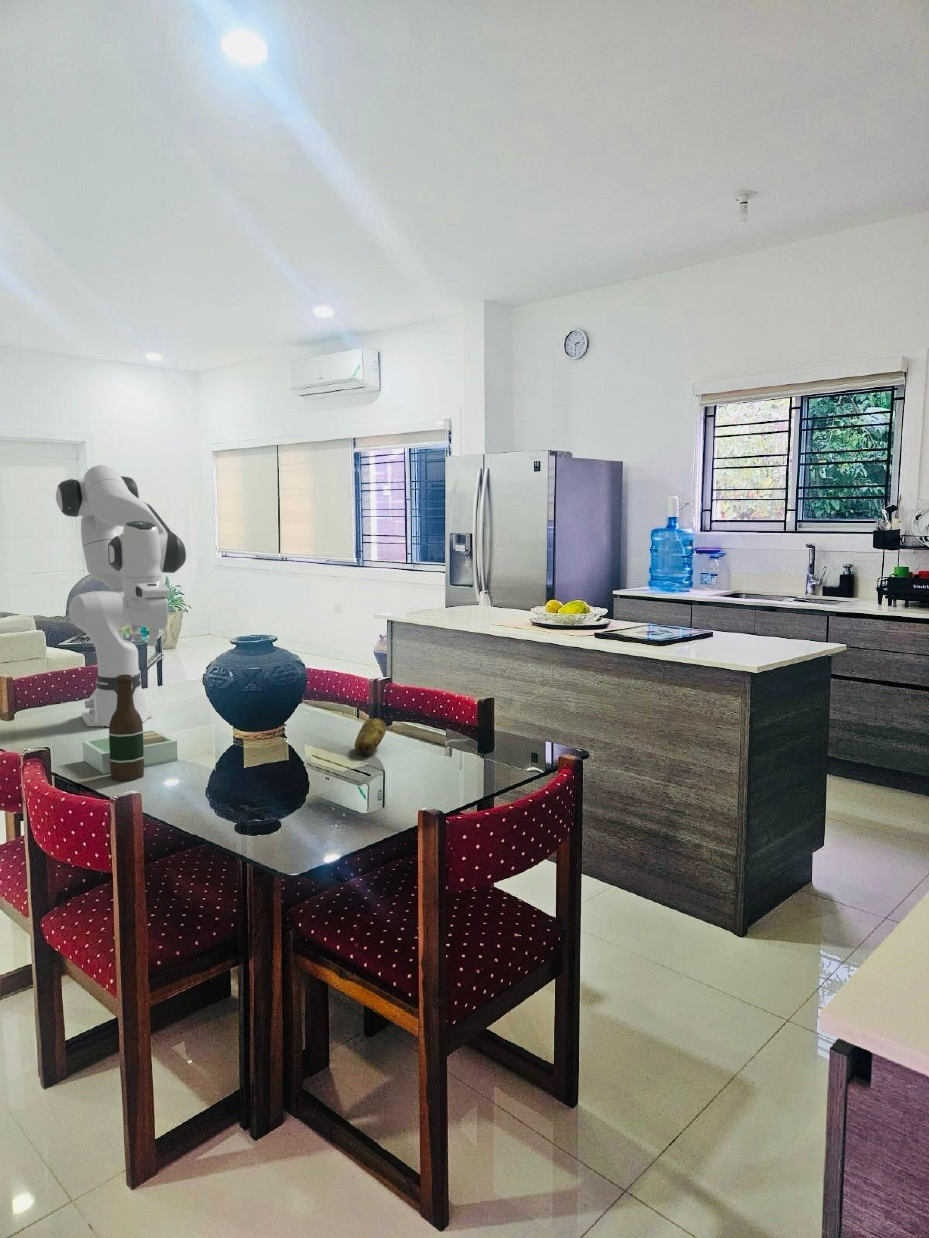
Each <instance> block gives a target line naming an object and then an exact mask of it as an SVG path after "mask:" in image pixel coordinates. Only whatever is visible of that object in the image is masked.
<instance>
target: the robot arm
mask: <svg viewBox="0 0 929 1238" xmlns="http://www.w3.org/2000/svg"><path fill="white" fill-rule="evenodd" d="M56 488H57V489H56V491H55V501H56V504H57V506H58V508H59V510H60V511H61V513H62V514H63V515H64V516H66V517H67V516H68V517H74V518H78V517H81V520H80V537H81V543H82V550H83V554H84V560H85V565H86V569H87V572H88V574H89V575H90V576H91V578H93V579H94V580H96V581H99V582H101V583H102V584H104V585H106V587H108V589H109V590H95V591H93V590H91V591H87V592H83V593H80V594H77V595H75V596H74V597H73V598H72V599H71V601H70V602H69V606H68V614H69V615H68V616H69V619H70V620H71V623H72V624H73V625H75V627H76V628H78V629H79V630H81V631H82V632H84V633H85V634H86V635H87V636H88V637H89V639H90V640H91V642H92V643H93V646H94V649H95V653H96V654H95V655H96V662H97V676H96V679H95V687H96V688H95V690H94V691H93V692H92V694H91V695H90V696H89V699H88V700H85V701H84V707H85V709H89V710H88V711H87V710H86V711H84V712H82V713H81V718H82V720H83V722H84V724H85V723H86V724H85V725H87V727H104V726H106V727H108V728H109V725H110V721H111V718H112V715H113V714H114V712H115V711H116V707H117V681H116V679H117V676H119V675H132V678H133V680H132V681H131V682H132V692H133V702H134V707H135V709H136V711H137V712H138V713H139V714H140V717H141V719H142V723H144V722H146V721H147V720H148V719H151V718H152V717H153V713H152V712H148V702H147V701H148V700H147V691H146V690H144V689H143V688H142V687H141V685H142V677H141V676H142V675H141V672H140V667H139V666H140V664H139V649H138V648H137V646H136V645H135V644H134V643H133V642H132V641H129V639H125V638H123V637H121V636H120V633H119V628H128V627H130V630H131V632H132V639H133V641H134V642H142V641H143V634H142V632H141V627H144V628H146V629H147V630H148V631H147V632H148V633H149V634H148V638H147V645H148V646H149V647H157V646H158V637H159V634H160V630H163V629H166V628H167V627H168V620H169V601H168V599H167V598H169V597H170V589H169V587H168V586H167V585H166V584H165V583H164V581H163V575H162V573H165V574H167V573H168V574H174V573H176V572H178V571H179V569H180V568H181V567H182V566H184V565H185V562H186V558H187V554H186V553H187V552H186V547H185V544H184V542H183V541H182V539H181V538H180V537H179V536H178V535H177V534H175V533H174V532H173V531H172V530H171V529H170V528H169V527H168V525H167V524H166V523H165V521H164V520H163V519H162V518H161V516H160V515H159V513H157V512H156V510H155V509H154V508H153V507H152V506H151V505H150V504H148V503H147V502H145V501H143V500H141V498H140V496H141V495H140V489H139V488H138V485H137V483H136V481H135V480H134V479H133V478H132V477H129V476H128V477H127V476H122V475H120V474H119V473H118V472H117V470H116V469H114V468H113V467H111V466H109V465H103V464H97V465H95V466H92V467H90V468H89V469H88V470H87V471H86V472H85V474H84V477H83V478H78V479H73V478H70V479H65V480H63V481H61V482H60V483H59V484H58V485H57V487H56ZM120 527H122V528H123V529H122V530H123V531H122V533H121V530H120Z"/></svg>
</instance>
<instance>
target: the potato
mask: <svg viewBox="0 0 929 1238" xmlns="http://www.w3.org/2000/svg"><path fill="white" fill-rule="evenodd" d="M386 730H387V724H386V722H385V721H384V720H382V719H381V718H377V717H376V718H374V717H373V718H368V719H367V720H365V721H364V723H363V724H362V726H361V728H360V730H359V731H358V734H357V737H356V738H355V741H354V750H355V752H356V753H357V754H359V755H361V756H363V755H364V756H367V755H370V754H372V753H373V752H374V750H376V748H377V747H378V746H379V745H380V744H381V742H382V741H383V738H384V736H385V735H386Z"/></svg>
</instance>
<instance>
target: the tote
mask: <svg viewBox="0 0 929 1238" xmlns="http://www.w3.org/2000/svg"><path fill="white" fill-rule="evenodd" d="M151 732H155V733H157V734H159V735H161V736H162V742H161V743H155V744H149V745H144V746H143V747H144V768H145V767H150V766H155V765H159V764H166V763H171V762H177V761H178V740H176V739H174V738H172V737H171V736H168V735H166V734H164V733H162V732H160V731H158V730H156V729H149V730H143V734H145V733H151ZM82 759H83V760H84V761H85V762H86V763H85V762H84V761H83V760H82V761H83V762H84V763H85V764H87V763H88V764H89V765H88V764H87V765H88V766H90V767H91V768H92V769H94V770H96V771H97V770H98V771H99V772H98V771H97V772H98V773H100V774H101V773H102V774H101V775H107V773H108V774H111V772H110V747H109V736H108V737H107V736H106V737H102V738H94V739H88V740H83V741H82Z"/></svg>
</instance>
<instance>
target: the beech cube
mask: <svg viewBox="0 0 929 1238" xmlns="http://www.w3.org/2000/svg"><path fill="white" fill-rule="evenodd" d="M161 742H162V736H161V735H159V734H157V733H155V732H151V733H145V734H143V746H144V745H149V744H155V743H161Z"/></svg>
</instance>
